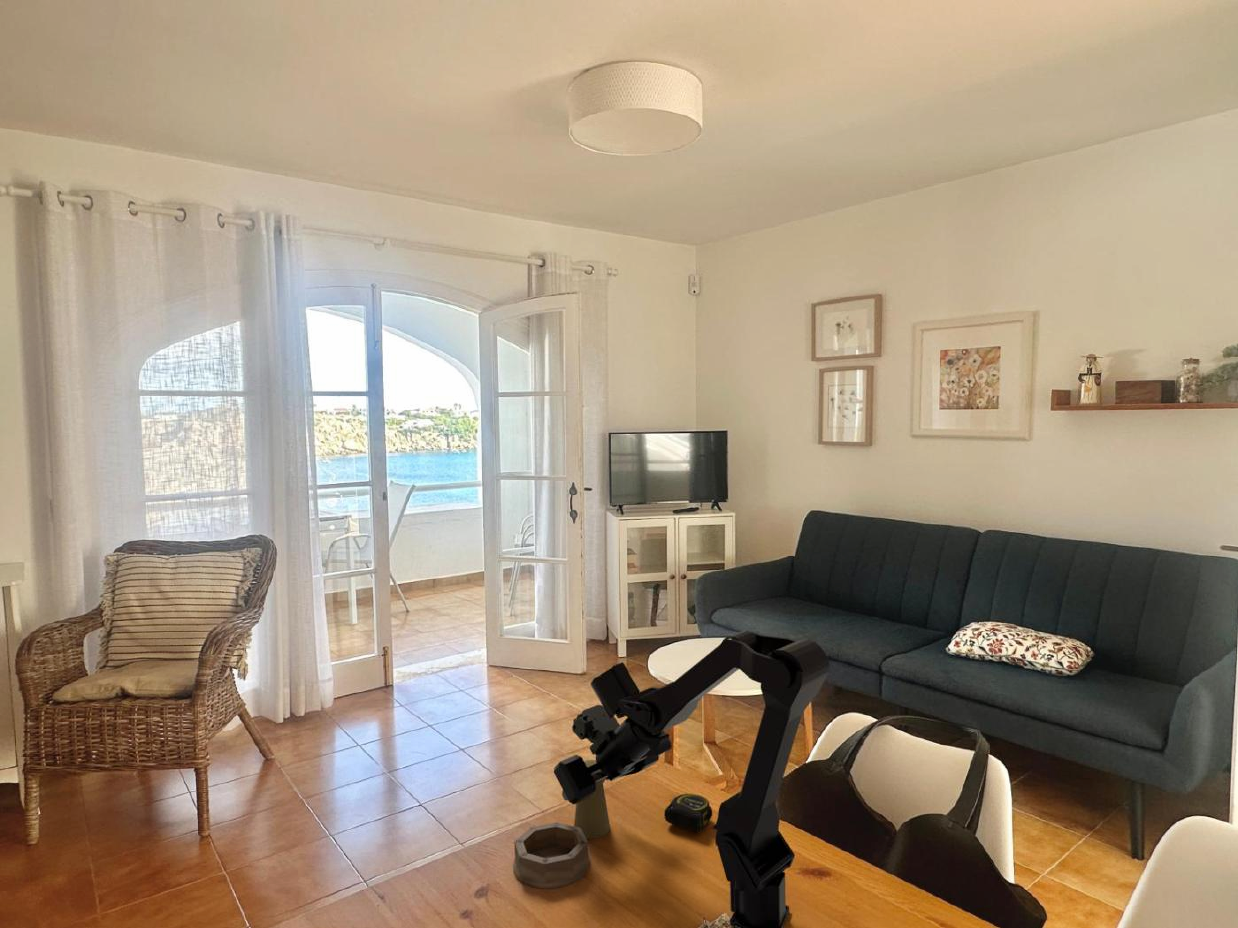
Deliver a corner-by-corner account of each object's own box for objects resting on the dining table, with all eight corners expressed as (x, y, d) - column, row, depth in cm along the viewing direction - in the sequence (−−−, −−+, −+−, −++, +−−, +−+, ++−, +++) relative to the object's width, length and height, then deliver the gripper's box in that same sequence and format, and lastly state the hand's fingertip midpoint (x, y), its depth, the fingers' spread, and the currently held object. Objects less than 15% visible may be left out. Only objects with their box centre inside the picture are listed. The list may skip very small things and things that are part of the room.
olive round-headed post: (605, 839, 121) (603, 773, 121) (569, 836, 123) (567, 770, 122) (613, 820, 127) (611, 756, 127) (578, 817, 128) (576, 754, 128)
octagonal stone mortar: (603, 853, 117) (602, 831, 117) (564, 896, 107) (563, 872, 107) (540, 836, 123) (540, 815, 122) (497, 875, 112) (497, 852, 112)
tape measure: (662, 827, 125) (661, 805, 125) (683, 809, 131) (683, 787, 130) (698, 839, 121) (698, 817, 121) (719, 820, 127) (718, 798, 126)
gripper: (644, 680, 127) (601, 726, 136) (559, 712, 114) (517, 761, 123) (681, 739, 122) (633, 783, 131) (596, 780, 109) (550, 826, 117)
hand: (585, 786), depth 125 cm, fingers open, 9 cm apart
